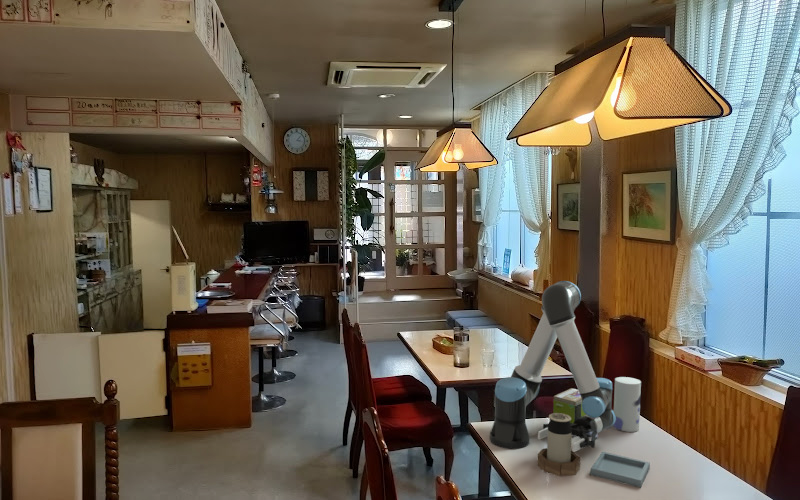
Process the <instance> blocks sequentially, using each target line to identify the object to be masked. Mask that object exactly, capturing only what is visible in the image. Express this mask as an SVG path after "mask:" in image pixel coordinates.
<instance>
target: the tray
mask: <svg viewBox="0 0 800 500" xmlns="http://www.w3.org/2000/svg"><path fill="white" fill-rule="evenodd" d="M650 464H651V463H650V462H649V461H645V460H641V459H636V458H633V457H627V456H622V455H618V454H615V453H610V452H606V451H601V453H600V455H599V456H598V457H597V459H596V460H595V462H594V463H593V464H592V465H591V467H590V476H593V477H597V478H601V479H605V480H609V481H614V482H617V483H621V484H624V485H630V486H633V487H636V488H640V489H641V488H642V486H643V484H644V482H645V479H646V477H647V475H648V473H649V472H650V467H651V465H650Z"/></svg>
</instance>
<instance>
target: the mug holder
mask: <svg viewBox="0 0 800 500" xmlns="http://www.w3.org/2000/svg"><path fill="white" fill-rule="evenodd" d="M536 465H537V466H538V467H539V468H540V470H541V471H542V472H544V473H546V474H551V475H555V476H559V477H568V476H575V475H577V473H578V472H579V471H580V470H581V456H579V455H578V454H576V453H575V452H573V451H572V450H571V462H568V463H558V462H554V461H550V460H547V447H545V448H542V449H541V450H540V451H539V452H538V453H537V464H536Z"/></svg>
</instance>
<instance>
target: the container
mask: <svg viewBox="0 0 800 500" xmlns="http://www.w3.org/2000/svg"><path fill="white" fill-rule="evenodd" d="M641 387H642V381H641V380H640V379H637V378H634V377H628V376H627V377H626V376H619V377H615V378H614V389H613V390H614V392H613V393H614V395H613V397H614V398H613V412H614V414H615V416H616V421H615V423H614V424H613V425H612V427H614V428H615V429H617V430H619V431H623V432H630V433H632V432H633V433H634V432H637V431H639V430H640V414H641V413H640V412H641V389H642V388H641Z"/></svg>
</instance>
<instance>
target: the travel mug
mask: <svg viewBox="0 0 800 500" xmlns="http://www.w3.org/2000/svg"><path fill="white" fill-rule="evenodd" d="M548 418H549V422H548V423H547V424H548V436H547V441H546V443H547V444H546V445H547V446H546V448H547V460H550V461H554V462H558V463H568V462H571V451H572V436H571V433H572V427H571V425H570V420H571V417H570V416H569V415H566V414H562V413H551V414H549V415H548Z"/></svg>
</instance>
